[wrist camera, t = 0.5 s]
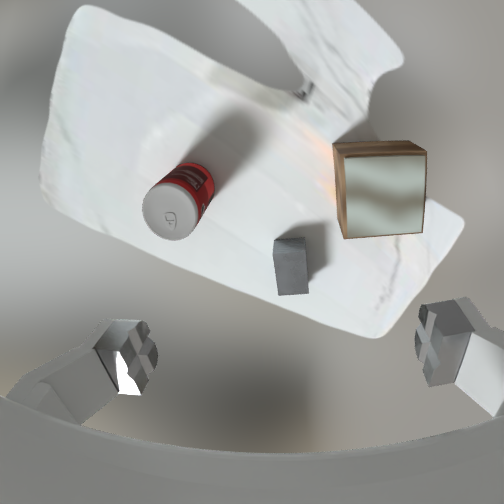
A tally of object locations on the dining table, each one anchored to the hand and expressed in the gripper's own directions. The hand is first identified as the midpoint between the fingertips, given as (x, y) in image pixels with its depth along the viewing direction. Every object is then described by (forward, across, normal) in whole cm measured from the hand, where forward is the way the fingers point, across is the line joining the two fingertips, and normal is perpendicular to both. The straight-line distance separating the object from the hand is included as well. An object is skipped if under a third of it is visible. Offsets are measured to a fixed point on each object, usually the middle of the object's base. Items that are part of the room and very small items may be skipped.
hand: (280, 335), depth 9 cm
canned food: (+40, +16, +2) cm, 43 cm away
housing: (+42, +2, +17) cm, 45 cm away
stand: (+40, -12, +4) cm, 42 cm away
